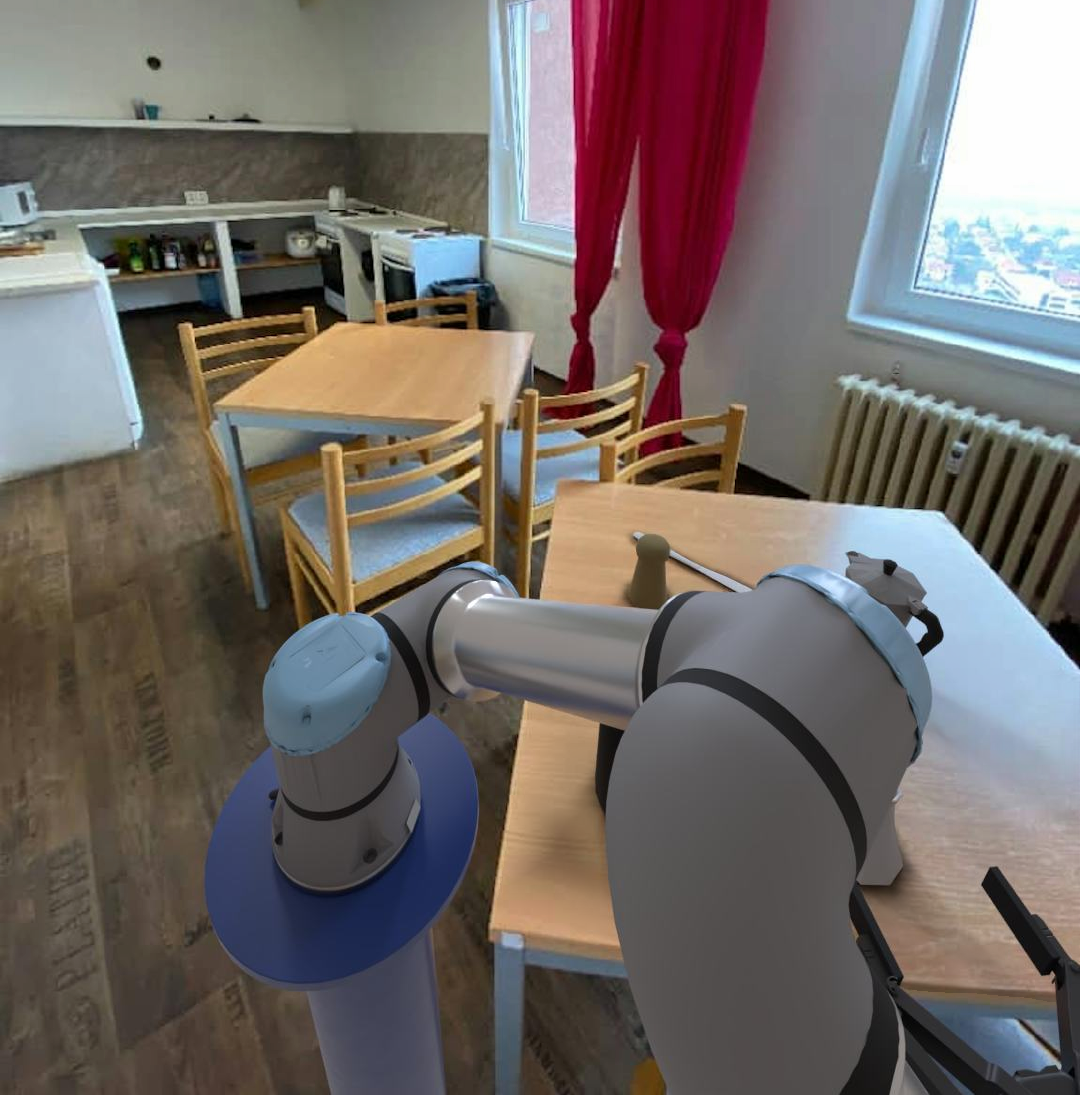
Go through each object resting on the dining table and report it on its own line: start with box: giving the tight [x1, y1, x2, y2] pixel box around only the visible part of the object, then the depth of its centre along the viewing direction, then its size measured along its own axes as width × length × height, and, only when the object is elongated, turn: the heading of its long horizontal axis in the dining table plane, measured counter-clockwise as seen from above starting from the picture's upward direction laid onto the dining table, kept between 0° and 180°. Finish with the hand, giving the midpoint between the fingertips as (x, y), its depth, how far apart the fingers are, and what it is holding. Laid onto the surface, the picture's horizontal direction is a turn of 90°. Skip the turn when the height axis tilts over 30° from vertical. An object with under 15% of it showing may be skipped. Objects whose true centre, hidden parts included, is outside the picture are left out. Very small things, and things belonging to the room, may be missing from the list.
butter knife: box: [632, 531, 753, 593], centre depth 102 cm, size 1×27×3 cm
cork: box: [628, 533, 671, 610], centre depth 94 cm, size 6×6×11 cm
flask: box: [856, 786, 904, 886], centre depth 61 cm, size 7×7×10 cm
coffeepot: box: [844, 550, 945, 658], centre depth 80 cm, size 15×9×18 cm, turn 17°
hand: (919, 882), depth 55 cm, fingers open, 13 cm apart
